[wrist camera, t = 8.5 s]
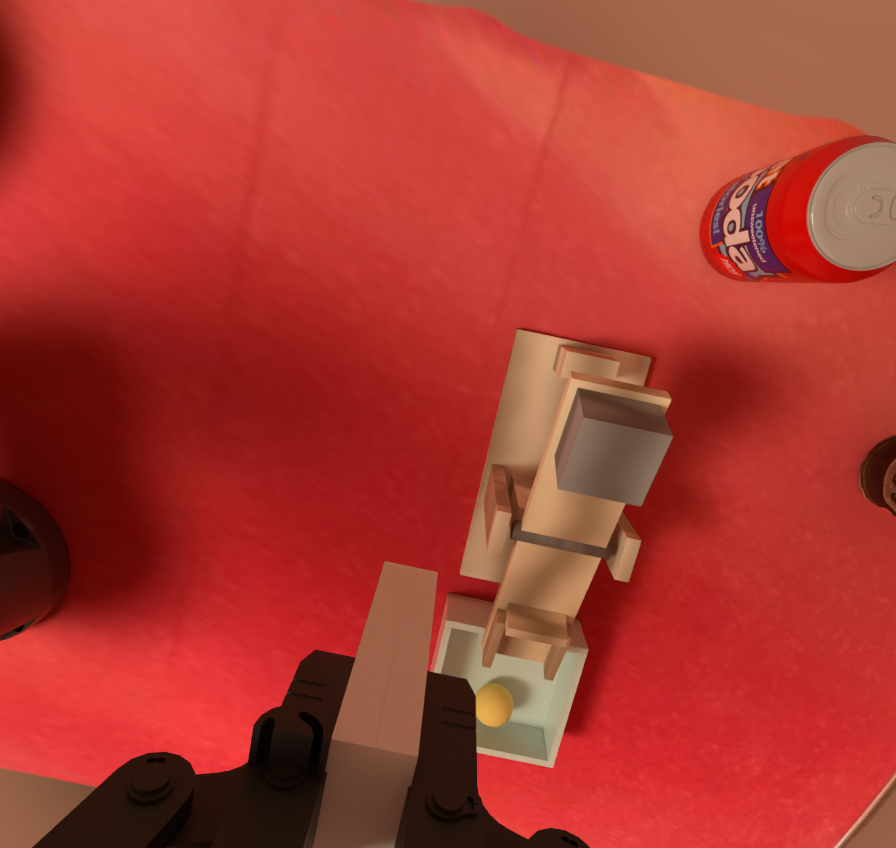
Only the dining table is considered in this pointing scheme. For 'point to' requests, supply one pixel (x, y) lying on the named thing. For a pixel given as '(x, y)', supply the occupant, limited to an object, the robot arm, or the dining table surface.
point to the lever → (575, 513)
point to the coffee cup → (880, 475)
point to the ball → (493, 705)
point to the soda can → (807, 216)
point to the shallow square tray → (510, 683)
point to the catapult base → (538, 445)
